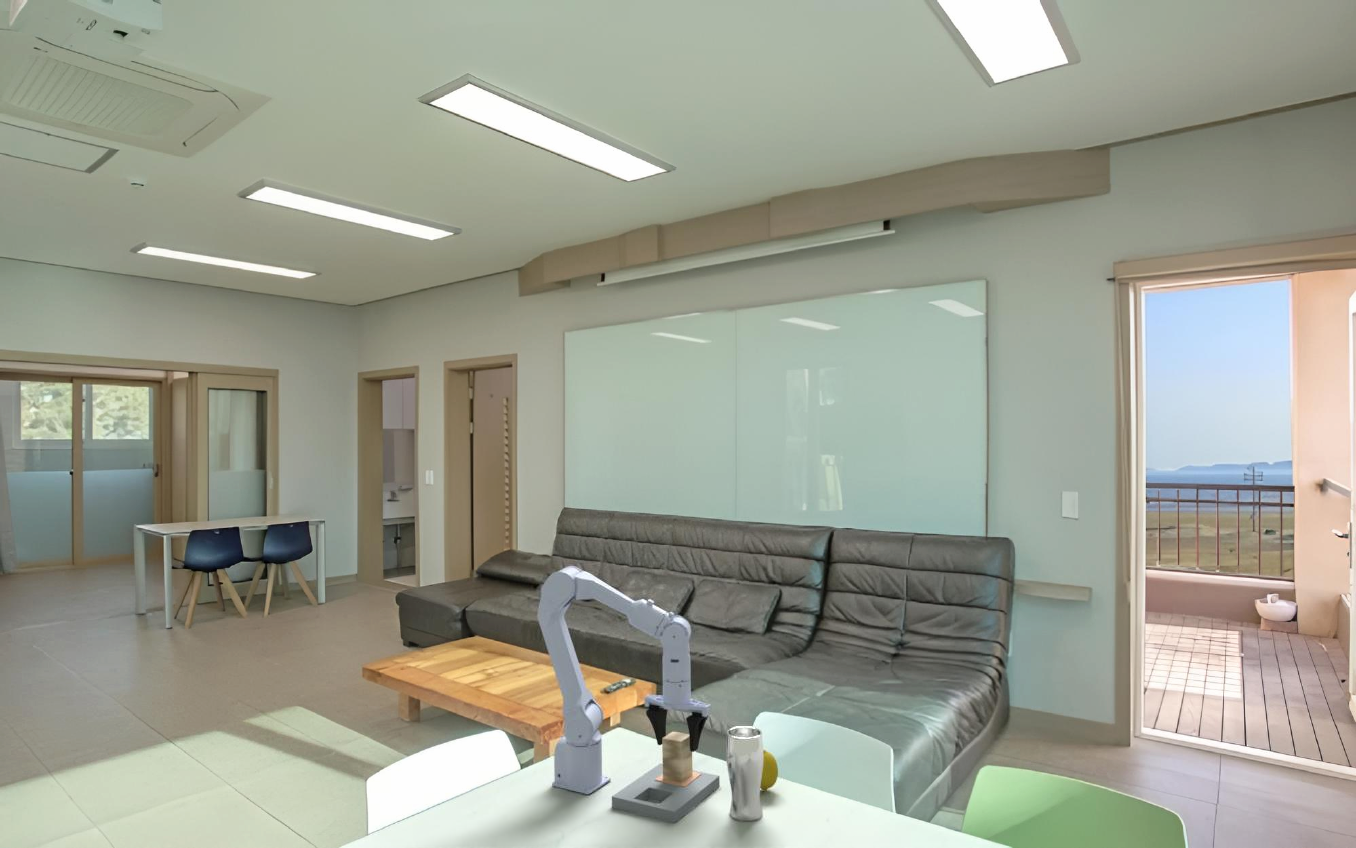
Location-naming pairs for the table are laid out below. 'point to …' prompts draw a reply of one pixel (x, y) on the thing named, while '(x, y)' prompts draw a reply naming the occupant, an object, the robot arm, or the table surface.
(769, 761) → the lemon
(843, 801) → the table surface
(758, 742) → the beer glass
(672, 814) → the pocket board
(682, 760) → the peg
